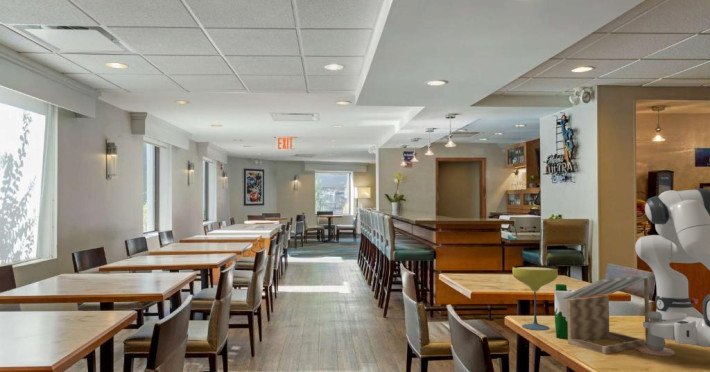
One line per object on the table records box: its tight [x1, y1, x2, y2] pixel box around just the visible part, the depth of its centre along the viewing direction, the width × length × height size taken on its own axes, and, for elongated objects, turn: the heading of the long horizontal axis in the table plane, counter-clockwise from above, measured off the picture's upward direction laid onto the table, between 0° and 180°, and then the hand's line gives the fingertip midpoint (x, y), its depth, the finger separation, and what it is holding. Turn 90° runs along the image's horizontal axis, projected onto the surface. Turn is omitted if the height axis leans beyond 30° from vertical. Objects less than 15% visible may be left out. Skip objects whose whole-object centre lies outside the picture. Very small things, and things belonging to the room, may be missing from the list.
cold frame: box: [563, 274, 650, 355], centre depth 186 cm, size 28×16×25 cm, turn 118°
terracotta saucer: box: [637, 344, 675, 357], centre depth 176 cm, size 11×11×1 cm
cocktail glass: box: [512, 264, 559, 331], centre depth 214 cm, size 18×18×25 cm
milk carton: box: [554, 283, 581, 340], centre depth 197 cm, size 9×9×20 cm
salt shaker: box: [645, 310, 666, 351], centre depth 176 cm, size 6×6×13 cm
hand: (652, 322), depth 178 cm, fingers open, 8 cm apart
